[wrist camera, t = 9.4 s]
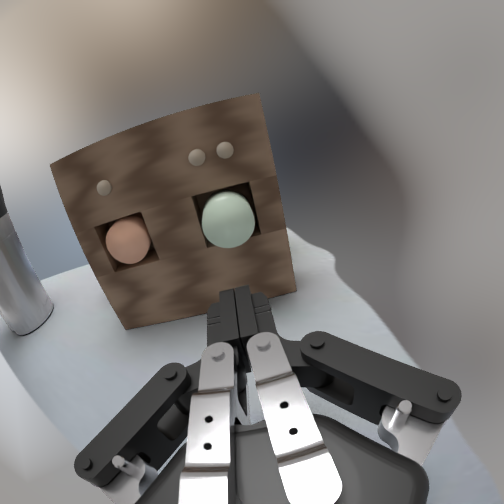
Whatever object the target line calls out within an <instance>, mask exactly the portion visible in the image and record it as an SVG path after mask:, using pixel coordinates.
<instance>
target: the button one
mask: <svg viewBox="0 0 504 504" xmlns="http://www.w3.org/2000/svg"><path fill="white" fill-rule="evenodd" d="M151 242H152V239H151V237H150V234H149V232H148V229H147V226H146V224H145V221H144V218H143V215H142V213H140V212H137V213H134V214H131V215H128V216H125V217H122V218H119V219H117V220H116V222H115V223H114V224H113V225H112V227H111V228H110V229H109V231H108V233H107V235H106V246H107V249H108V251H109V252H110V254H111V255H112V256H113V257H114V258H115V259H116V260H118V261H120V262H122V263H126V264H133V263H137V262H139V261H141V260H142V259H143V258H144V257H145V255H146V254H147V251H148V249H149V247H150V244H151Z"/></svg>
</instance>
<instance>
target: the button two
mask: <svg viewBox="0 0 504 504" xmlns="http://www.w3.org/2000/svg"><path fill="white" fill-rule="evenodd" d="M254 227H255V219H254V215H253V212H252V210H251V207H250V205H249V202H248V200H247V199H246V198H245V196H243V195H242V194H241V193H239V192H237V191H235V190H230V189H224V190H220V191H217V192H215V193H213V194H212V195H211V196H210V197H209V198H208V199H207V201H206V202H205V205H204V208H203V216H202V229H203V233H204V235H205V236H206V238H207V239H208V240H209V241H210V242H211V243H212V244H214V245H216V246H218V247H222V248H233V247H237V246H240V245H242V244H243V243H245V242H246V241H247V240H248V239H249V238H250V236H251V235H252V233H253V231H254Z"/></svg>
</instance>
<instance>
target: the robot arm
mask: <svg viewBox="0 0 504 504" xmlns="http://www.w3.org/2000/svg"><path fill="white" fill-rule="evenodd" d="M234 289H235V291H234ZM219 301H220V302H216V303H212V304H211V305H210V307H209V309H208V311H207V319H208V320H207V325H208V326H207V348H206V349H205V350H204V351H203V353H202V358H201V359H200V360H199V361H198V362H196V363H194V364H192V365H190V366H187V367H184V366H183V365H182V364H180V363H170V364H167V365H165V366H163V367H162V368H161V369H160V370H159V371H158V372H157V373H156V374H155V375H154V376H153V377H152V378H151V379H150V381H149V382H148V383H147V384H146V385H145V386H144V387H143V388H142V389H141V390H140V391H139V392H138V393H137V394H136V395H135V396H134V397H133V398H132V399H131V400H130V402H129V403H128V404H127V405H126V406H125V407H124V408H123V409H122V410H121V411H120V412H119V413H118V414H117V415H116V416H115V417H114V418H113V419H112V420H111V421H110V422H109V423H108V424H107V425H106V427H105V428H104V429H103V430H102V431H101V432H100V433H99V434H98V435H97V436H96V437H95V438H94V439H93V440H92V441H91V442H90V443H89V444H88V445H87V446H86V447H85V448H84V449H83V450H82V451H81V452H80V453H79V454H78V455H77V457H76V459H75V463H74V468H75V471H76V473H77V475H78V476H80V477H81V478H83V479H84V480H86V481H88V482H90V483H91V484H93V485H94V486H96V487H98V488H100V489H101V490H102V491H103V492H104V493H105V494H106V495H107V496H108V497H109V499H111V501H112V502H113V503H114V504H426V501H427V496H428V492H429V480H428V476H427V474H426V472H425V470H424V469H423V467H422V465H423V463H424V461H425V459H426V457H427V456H428V454H429V452H430V450H431V448H432V446H433V444H434V442H435V440H436V438H437V436H438V434H439V432H440V430H441V428H442V427H443V426H444V425H445V423H446V422H447V420H448V419H449V418H450V416H451V415H452V414H453V412H454V411H455V409H456V408H457V406H458V405H459V403H460V401H461V390H460V388H459V386H458V385H457V384H456V383H454V382H453V381H451V380H448V379H446V378H443V377H440V376H437V375H434V374H431V373H429V372H426V371H423V370H420V369H418V368H415V367H412V366H409V365H407V364H404V363H401V362H399V361H396V360H394V359H391V358H388V357H386V356H383V355H381V354H378V353H376V352H373V351H370V350H368V349H365V348H363V347H360V346H358V345H355V344H353V343H351V342H348V341H346V340H343V339H341V338H338V337H336V336H334V335H331V334H329V333H326V332H322V331H315V332H311V333H309V334H307V335H305V336H304V337H303V338H302V340H301V341H289V340H285V339H283V338H282V337H280V336H279V335H278V333H277V330H276V327H275V323H274V320H273V316H272V312H271V309H270V305H269V302H268V298H267V296H266V295H265V294H263V293H262V292H258V293H254V294H251V291H250V287H249V284H248V285H244V286H240V287H236V288H232V289H228V290H224V291H220V292H219ZM52 309H53V303H52V301H51V299H50V298H49V296H48V294H47V293H46V291H45V289H44V287H43V286H42V284H41V282H40V280H39V278H38V277H37V275H36V273H35V271H34V269H33V267H32V265H31V263H30V261H29V259H28V257H27V255H26V253H25V251H24V249H23V247H22V244H21V242H20V240H19V238H18V235H17V233H16V231H15V229H14V226H13V224H12V221H11V219H10V216H9V214H8V213H7V209H6V206H5V203H4V198H3V194H2V190H1V186H0V314H1V316H2V317H3V319H4V320H5V322H6V323H7V325H8V326H9V328H10V329H11V330H12V331H15V332H16V334H18V335H25V334H27V333H29V332H31V331H33V330H35V329H36V328H37V327H39V326H40V325H41V324H42V323H43V322H44V321H45V320H46V319H47V318H48V316H49V315H50V313H51V311H52ZM250 365H251V366H250ZM251 368H252V370H253V373H254V377H255V381H256V388H257V392H258V395H259V399H260V402H261V406H262V410H263V413H264V417H265V420H263V421H260V422H258V423H256V424H253V425H251V422H250V408H249V389H248V384H247V376H246V373H248V372H251ZM301 387H306V388H307V389H308V390H309V391H310V392H312V393H314V394H316V395H318V396H320V397H321V398H323V399H325V400H327V401H329V402H331V403H333V404H335V405H337V406H339V407H341V408H343V409H345V410H347V411H349V412H351V413H353V414H355V415H357V416H359V417H361V418H363V419H365V420H368V421H370V422H372V423H374V424H376V425H378V435H379V437H380V439H381V440H382V441H384V442H385V443H387V444H388V445H389V446H390V447H391V449H392V450H391V449H389V448H387V447H385V446H383V445H381V444H379V443H377V442H375V441H373V440H371V439H369V438H367V437H365V436H363V435H361V434H359V433H358V432H356V431H354V430H352V429H350V428H348V427H347V426H345V425H343V424H341V423H340V422H338V421H336V420H334V419H332V418H330V417H327V416H323V415H318V414H312V413H311V411H310V408H309V406H308V404H307V401H306V399H305V396H304V394H303V391H302V389H301ZM173 404H174V405H173ZM166 412H167V413H166ZM186 437H187V442H186V443H185V444H184V445H183V446H182V447H181V448H180V449H179V450H178V451H177V453H176V454H175V455H174V457H173V458H172V459H171V460H170V462H169V463H168V464H167V465H166V467H165V468H164V469H163V470H162V471H161V473H160V474H159V475H158V473H157V471H158V470H159V469H160V468H161V466H162V465H163V464H164V463H165V462H166V461H167V459H168V458H169V457H170V456H171V455H172V454H173V452H174V451H175V450H176V449H177V448H178V447H179V445H180V444H181V443H182V442H183V441H184V439H185V438H186Z"/></svg>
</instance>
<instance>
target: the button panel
mask: <svg viewBox="0 0 504 504" xmlns="http://www.w3.org/2000/svg"><path fill="white" fill-rule="evenodd" d="M50 167H51V171H52V173H53V177H54V180H55V182H56V185H57V188H58V191H59V194H60V197H61V199H62V202H63V204H64V207H65V210H66V212H67V215H68V217H69V220H70V222H71V224H72V227H73V229H74V232H75V234H76V236H77V238H78V241H79V243H80V245H81V247H82V249H83V252H84V254H85V256H86V258H87V260H88V262H89V264H90V266H91V268H92V270H93V272H94V274H95V276H96V278H97V280H98V282H99V284H100V286H101V288H102V290H103V291H104V293H105V295H106V297H107V299H108V300H109V302H110V304H111V306H112V308H113V309H114V311H115V313H116V314H117V316H118V318H119V320H120V321H121V323H122V325H123V326H124V328H125V329H126V330H127V329H132V328H137V327H142V326H148V325H153V324H158V323H163V322H168V321H172V320H177V319H182V318H187V317H191V316H196V315H200V314H205V313H207V311H208V309H209V307H210V305H211V304H212V303H216V302H220V301H219V292H220V291H224V290H228V289H232V288H236V287H240V286H244V285H248V284H249V287H250V291H251V294H254V293H258V292H262V293H263V294H265V295H266V296H267V298H272V297H275V296H279V295H283V294H287V293H291V292H295V291H297V290H296V284H295V278H294V271H293V265H292V259H291V253H290V247H289V241H288V235H287V230H286V225H285V218H284V213H283V208H282V202H281V197H280V191H279V186H278V181H277V176H276V171H275V166H274V161H273V156H272V151H271V146H270V141H269V136H268V132H267V127H266V123H265V118H264V113H263V109H262V104H261V100H260V96H259V93H256V94H251V95H245V96H241V97H236V98H231V99H227V100H223V101H218V102H214V103H210V104H206V105H202V106H199V107H195V108H191V109H188V110H184V111H181V112H177V113H174V114H171V115H168V116H165V117H161V118H158V119H155V120H152V121H149V122H147V123H144V124H141V125H138V126H135V127H133V128H130V129H127V130H125V131H122V132H120V133H117V134H115V135H112V136H110V137H107V138H105V139H103V140H100V141H98V142H96V143H93V144H91V145H89V146H87V147H84V148H82V149H80V150H78V151H76V152H74V153H72V154H70V155H68V156H66V157H64V158H62V159H60V160H58V161H56V162H54V163H52V164H50ZM224 189H230V190H235V191H237V192H239V193H241V194H242V195H243V196H245V198H246V199H247V200H248V202H249V205H250V207H251V210H252V212H253V215H254V219H255V227H254V231H253V233H252V235H251V236H250V238H249V239H248V240H247V241H246V242H245V243H243V244H242V245H240V246H237V247H233V248H222V247H218V246H216V245H214V244H212V243H211V242H210V241H209V240H208V239H207V238H206V236H205V235H204V233H203V229H202V216H203V208H204V205H205V202H206V201H207V199H208V198H209V197H210V196H211V195H212V194H213V193H215V192H217V191H220V190H224ZM137 212H140V213H142V215H143V218H144V221H145V224H146V226H147V229H148V232H149V234H150V237H151V239H152V242H151V244H150V247H149V249H148V251H147V254H146V255H145V257H144V258H143V259H142V260H141V261H139V262H137V263H133V264H126V263H122V262H120V261H118V260H116V259H115V258H114V257H113V256H112V255H111V254H110V252H109V251H108V249H107V246H106V235H107V233H108V231H109V229H110V228H111V227H112V225H113V224H114V223H115V222H116V220H117V219H119V218H122V217H125V216H128V215H131V214H134V213H137ZM234 291H235V289H234Z"/></svg>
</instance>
